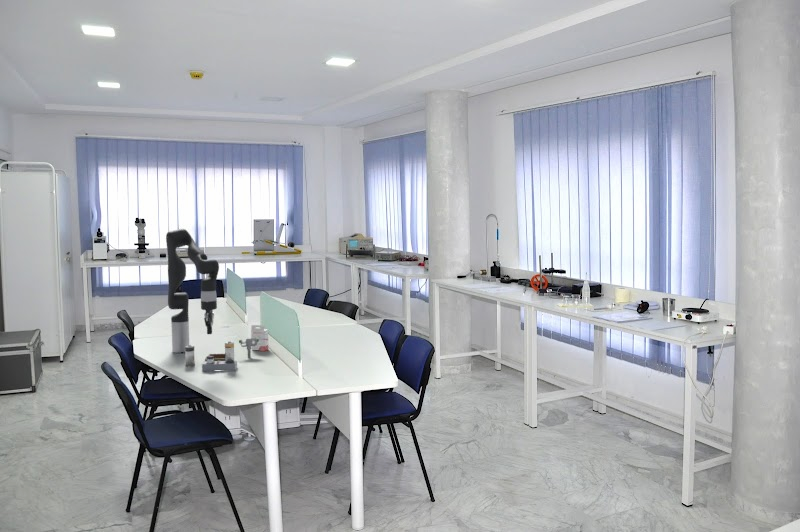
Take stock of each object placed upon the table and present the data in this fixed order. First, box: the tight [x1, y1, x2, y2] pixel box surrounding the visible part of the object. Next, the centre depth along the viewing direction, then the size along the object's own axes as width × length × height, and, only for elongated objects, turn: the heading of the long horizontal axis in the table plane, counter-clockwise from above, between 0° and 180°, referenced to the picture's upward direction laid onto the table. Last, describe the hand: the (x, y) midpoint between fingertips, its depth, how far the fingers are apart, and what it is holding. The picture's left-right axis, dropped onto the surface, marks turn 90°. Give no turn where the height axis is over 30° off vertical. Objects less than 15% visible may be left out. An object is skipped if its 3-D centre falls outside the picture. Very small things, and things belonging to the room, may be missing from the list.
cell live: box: [224, 341, 235, 363], centre depth 321 cm, size 4×4×11 cm
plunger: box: [205, 355, 214, 364], centre depth 320 cm, size 4×4×5 cm
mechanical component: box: [238, 338, 259, 358], centre depth 346 cm, size 3×10×10 cm, turn 111°
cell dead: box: [184, 344, 196, 367], centre depth 328 cm, size 4×4×11 cm
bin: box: [204, 353, 225, 361], centre depth 334 cm, size 11×11×4 cm
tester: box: [201, 360, 238, 372], centre depth 321 cm, size 6×16×4 cm, turn 96°
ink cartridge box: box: [250, 324, 269, 352], centre depth 363 cm, size 9×5×15 cm, turn 76°
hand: (209, 333), depth 319 cm, fingers closed
